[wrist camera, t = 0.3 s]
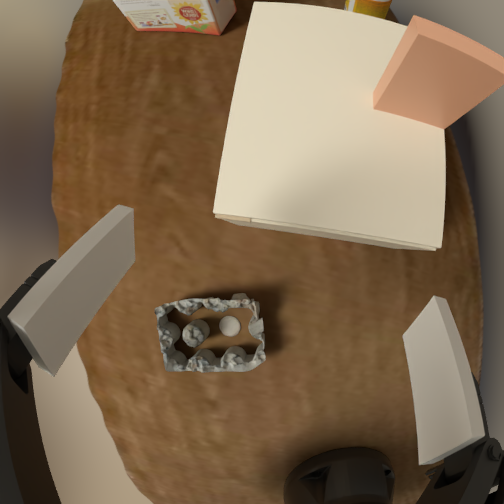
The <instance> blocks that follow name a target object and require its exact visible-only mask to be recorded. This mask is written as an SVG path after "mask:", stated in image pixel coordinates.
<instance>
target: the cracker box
mask: <svg viewBox="0 0 504 504" xmlns="http://www.w3.org/2000/svg"><path fill="white" fill-rule="evenodd" d="M113 1H114V2H115V4H116V5H117V6H118V8H119V9H120V10H121V11H122V13H123V14H124V15H125V16H126V18H127V19H128V20H129V22H130V23H131V24H132V25H133V27H134V28H135V29H136V31H174V32H191V33H202V34H212V35H221V33H222V32H223V30H224V29H225V27H226V26H227V24H228V23H229V21H230V20H231V18H232V17H233V15H234V14H235V12H236V11H237V9H236V5H235V2H234V0H113Z"/></svg>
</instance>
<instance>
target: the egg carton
mask: <svg viewBox="0 0 504 504" xmlns="http://www.w3.org/2000/svg"><path fill="white" fill-rule="evenodd" d="M202 304H204V306H205V307H206V308H207V309H213V310H214V311H216V312H218V311H221V312H222V313H223V312H225V311H226V310H227V309H228V308H242V307H243V308H249V309H251V310H252V312H253V313H254V315H253V316H252V318H251V320H250V322H249V327H248V328H249V332H250V333H251V335H252V336H253V337H255V338H256V339H260V340H261V341H263V343H262V344H260V345H259V346H258V347H257V350H256V353H255V354H253V355H247V354H246V352H245V350H244V349H243V348H241V347H238V346H232V347H230V348H228V349H227V351H226V352H225V354H224V356H223V357H221V358H216V357H215V355H214V354H213V352H212V351H210V350H208V349H200V350H198V351H197V353H196V354H195V355H194V356H193V357H192V358H190V359H189V360H188V359H187V358H186V356H185V355H184V354H183V353H182V352H180V351H177V350H175V347H174V343H175V342H176V341H177V340H178V339H179V337H180V334H181V332H180V329H179V327H178V326H177V325H176V324H175V323H172V322H169V321H168V318H167V313H169V312H170V311H171V310H172V309H173V308H174V305H175V307H176V308H177V309H178V310H179V311H180V312H182V313H184V314H187V315H192V313H194V312H195V311H196V310H198V309H199V308H200V307H201V306H202ZM259 312H260V307H259V302H256V301H254V299H253V298H252V300H250V299H249V298H248V297H247V296H246V294H244V293H239V294H234V295H233V296H232V300H220V299H219V298H215V299H214V298H213V297H210V298H206V299H194V298H193V299H185V300H181V301H176V302H172V303H169V304H163V305H162V306H160V307H156V308H155V314H156V315H157V321H158V324H157V330H158V332H159V341H160V345H161V352H162V353H163V355H164V365H165V369H166V371H193V372H195V371H201V372H223V371H237V372H245V371H250V370H252V369H254V368H255V367H257V366H258V365H260V364H261V363H262V362H264V361H265V358H266V357H265V353H264V351H263V350H264V346H265V337H264V336H265V335H264V333H262V332H263V331H264V327H263V318H261V319H260V318H259V315H258V314H259ZM219 328H220V331H221V332H222V333H223V334H224V335H226V336H235V335H237V334H238V333H239V331H240V329H241V324H240V322H239V321H238V319H237V318H235V317H233V316H225V317H223V318H222V319H221V321H220V323H219ZM209 332H210V329H209V326H208V324H207V323H206V322H205V321H203V320H200V319H196V320H193V321H192V322H191V323H189V324H188V325H187V326H186V327H185V328H184V330H183V340H184V341H185V342H186V343H187V345H189V346H191V347H197V346H199V345H200V344H201V343H202V342H203V341H204V340H205V339H206V338H207V337H208V335H209Z"/></svg>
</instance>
